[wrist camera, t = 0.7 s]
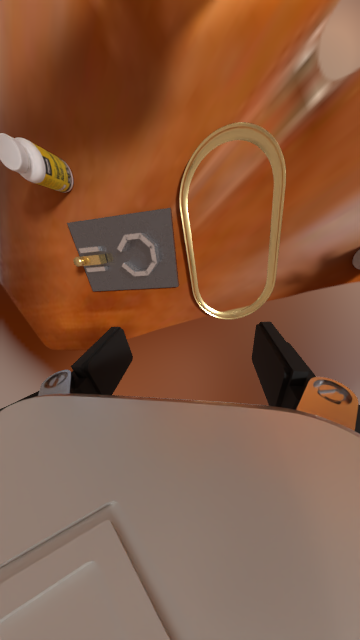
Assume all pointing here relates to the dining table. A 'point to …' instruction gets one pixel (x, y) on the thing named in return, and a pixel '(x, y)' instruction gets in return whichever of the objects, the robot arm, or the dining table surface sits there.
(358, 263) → the house plant
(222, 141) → the gold oval ring
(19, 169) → the supplement bottle
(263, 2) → the dining table surface
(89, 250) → the dock
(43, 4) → the dining table surface
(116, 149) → the dining table surface
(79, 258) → the bolt
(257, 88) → the dining table surface
